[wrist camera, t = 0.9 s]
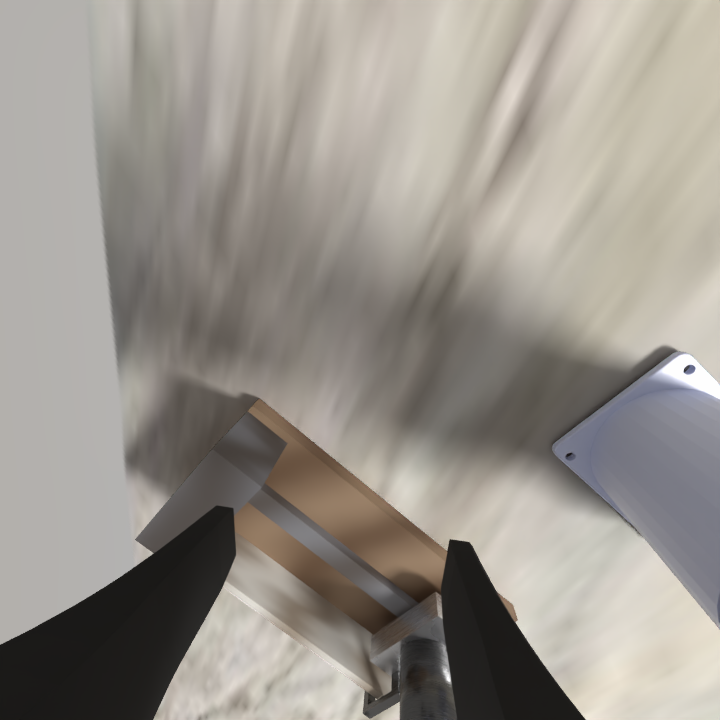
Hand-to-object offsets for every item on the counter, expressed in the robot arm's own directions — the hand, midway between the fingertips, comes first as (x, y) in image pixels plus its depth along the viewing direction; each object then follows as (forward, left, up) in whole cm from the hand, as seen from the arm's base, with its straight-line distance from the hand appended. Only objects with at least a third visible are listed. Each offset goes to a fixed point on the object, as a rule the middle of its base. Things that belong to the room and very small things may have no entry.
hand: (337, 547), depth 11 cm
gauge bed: (-6, +8, -10) cm, 14 cm away
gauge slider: (-13, +9, -8) cm, 18 cm away
